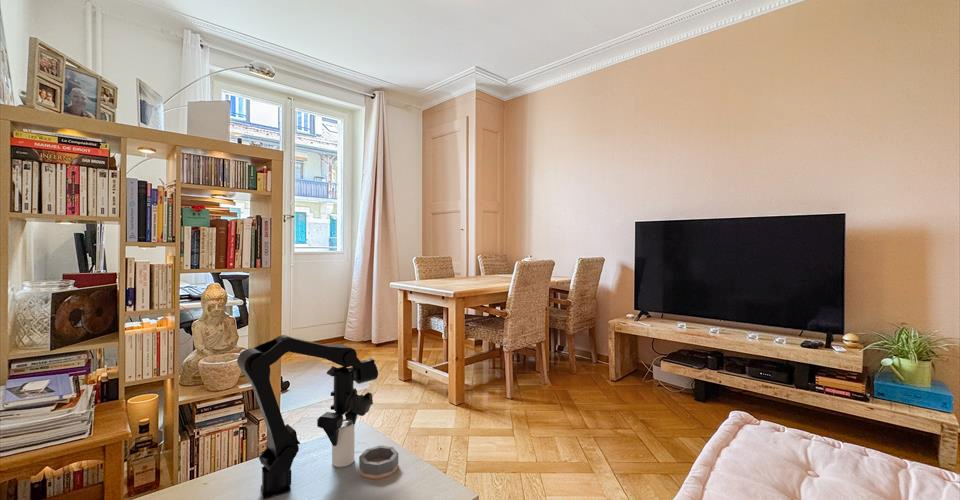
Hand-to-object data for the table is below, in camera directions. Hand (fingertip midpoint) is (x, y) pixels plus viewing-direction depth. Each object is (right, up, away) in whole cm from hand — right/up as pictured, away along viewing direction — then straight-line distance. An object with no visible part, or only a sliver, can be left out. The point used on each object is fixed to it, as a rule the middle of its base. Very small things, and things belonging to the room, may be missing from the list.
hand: (343, 438), depth 122 cm
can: (0, -8, 0) cm, 8 cm away
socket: (+12, -8, -3) cm, 14 cm away
